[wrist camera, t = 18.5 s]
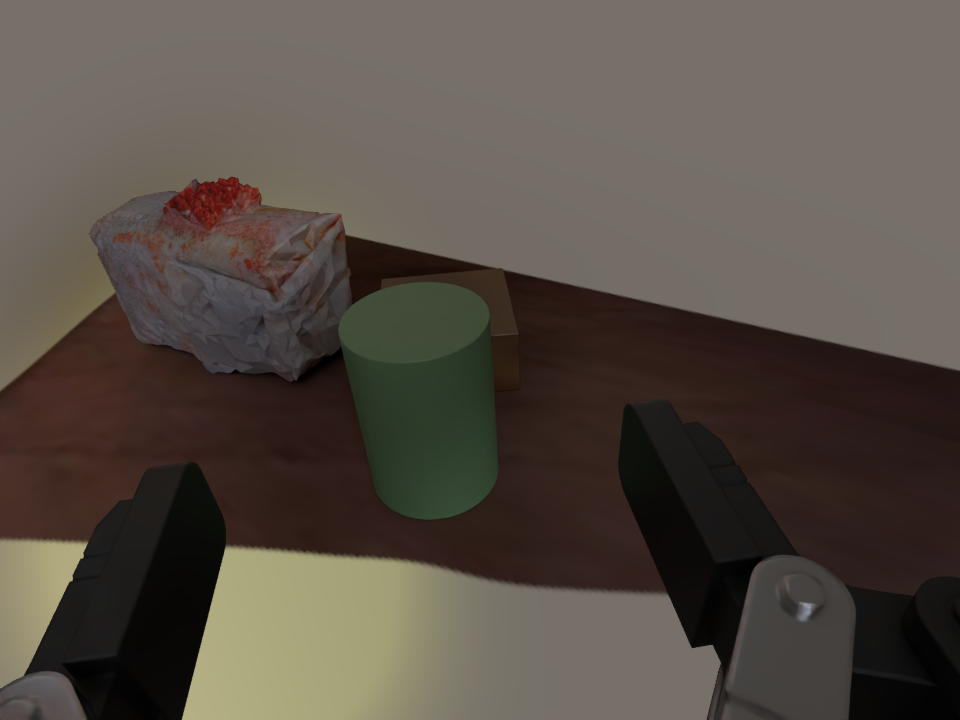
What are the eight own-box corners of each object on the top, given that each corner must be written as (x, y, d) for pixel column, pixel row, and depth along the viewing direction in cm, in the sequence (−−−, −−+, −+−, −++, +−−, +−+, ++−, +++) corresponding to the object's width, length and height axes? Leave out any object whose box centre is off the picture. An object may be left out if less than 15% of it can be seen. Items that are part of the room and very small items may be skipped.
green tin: (430, 413, 30) (409, 269, 25) (523, 457, 27) (519, 305, 22) (347, 482, 26) (305, 330, 22) (443, 542, 24) (419, 382, 19)
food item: (385, 330, 37) (356, 169, 31) (306, 410, 31) (252, 230, 25) (214, 296, 41) (162, 151, 36) (118, 361, 35) (36, 200, 30)
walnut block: (504, 319, 37) (502, 267, 35) (520, 389, 31) (518, 333, 29) (390, 329, 37) (381, 278, 34) (385, 402, 31) (374, 346, 29)
